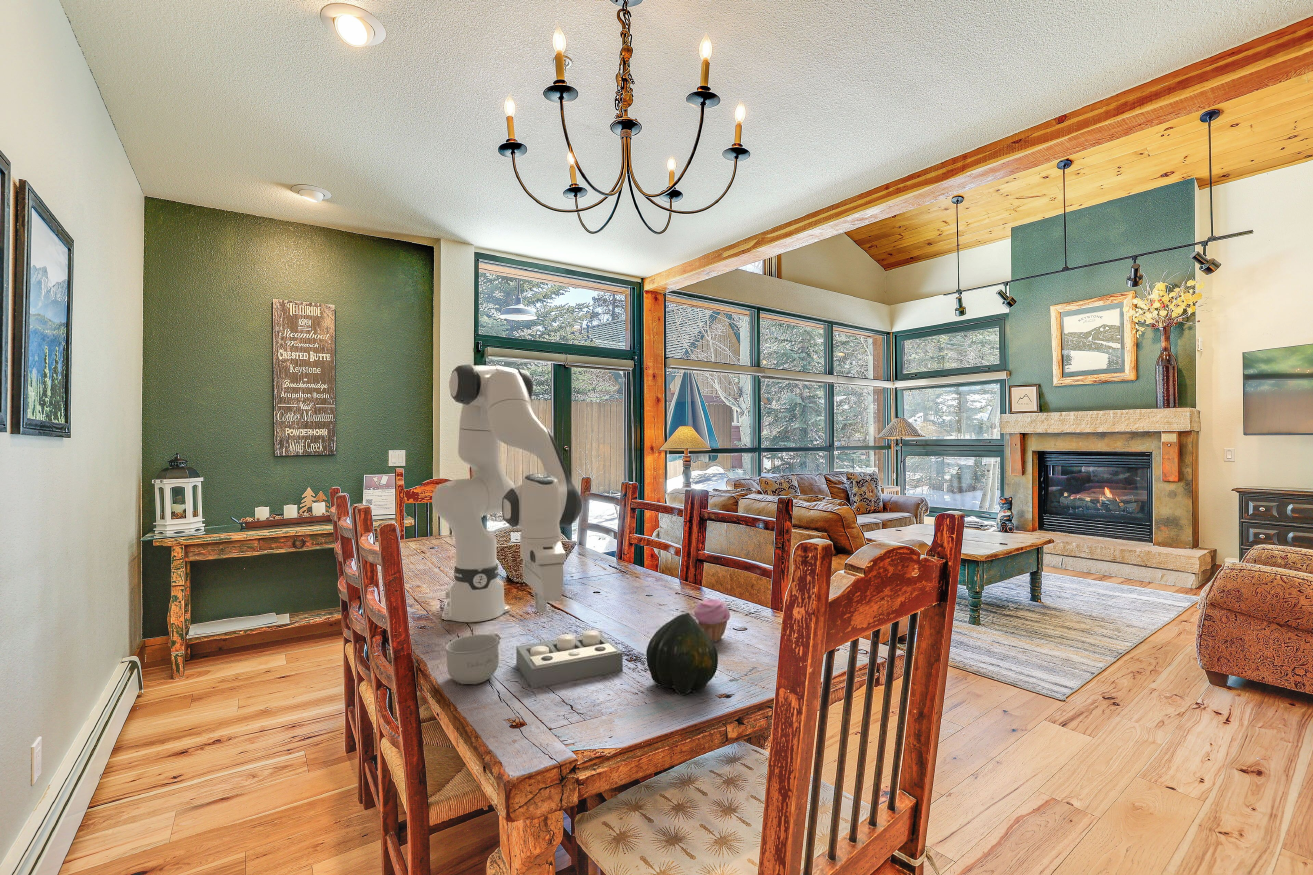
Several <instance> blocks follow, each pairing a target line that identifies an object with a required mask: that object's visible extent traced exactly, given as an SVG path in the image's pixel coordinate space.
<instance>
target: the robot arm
mask: <svg viewBox="0 0 1313 875" xmlns="http://www.w3.org/2000/svg"><path fill="white" fill-rule="evenodd" d="M448 382H449V383H448V385H449V386H448V387H449V393H450V396H451V398H452V399H453V400H454V401H455V402H456V403H458V404H461V405H462V407H461V411H460V418H459V428H458V445H457V446H458V447H457V454H458V457H459V458H460V459H461V461H463V462H464V463H465V464H467V465H469V467H470V470H471V473H472V477H471V478H459V479H458V478H457V479H453V480H449V481H445V482H443V483H440V484H438V485H437V486H436V488H435V489H434V490H433V493H432V497H431V503H432V508H433V510H434V512H435V513H436V515H437V516H438V517H439V518H441V519H442V520H443V521H445V522H446V523H447V525H448V526H449V528H450V530H451V532H452V534H453V538H454V546H455V547H454V548H455V566H454V570H453V579H454V580H453V581H454V582H453V583H452V585H451V586H450V588H449V590H445V600H446V602H445V603H444V607H443V610H442V614H441V618H442V619H444V620H443V621H453V622H454V621H455V622H459V623H460V622H461V623H475V622H484V621H488V620H493V619H495V618H498V617H500V616H502V615H503V614H504V613H508V612H510V611H511V606H510V605H508V604H506V603H505V588H504V582H502V581H501V580H500V579H499V578H498V577H499V563H497V538H496V536H495V534H494V533H493V532H491V531H490V530H488V529H486V528H485V526H484V524H483V521H482V516H490V515H496V514H497V515H498V514H500V513H502V514H501V515H502V516H501V517H502V520H503V521H504V522H505V523H506V524H507V525H508V526H510V527H512V528H516V529H521V531H520V536H519V537H520V540H519V542H520V543H519V545H520V546H519V547H520V548H519V550H520V551H519V553H520V558H521V559H522V572H521V574H522V580H523V581H524V582H525V583H526V584H527V585H528V586H529V587H530V588H531V589H532V593H533V599H534V606H535V607H534V608H535V610H536V611H537V612H538V613H540V614H541V613H543V614H544V613H546V612H547V604H548V602H555V601H559V600H561V599H562V596H563V591H564V590H563V587H564V564H563V563H565V562H566V561H567V556H566V555H567V554H566V552H565V550H564V548H563V544H562V531H561V527H570V526H571V525H572V524H574V523H575V522H576V521H577V519H578V518H579V517H580V515H581V513H582V510H583V509H582V508H583V505H582V504H583V503H582V498H581V495H580V493H579V491H578V489H577V487H576V486H575V484H574V483H573V480H572V478H571V476H570V474H569V471H568V469H567V467H566V464H565V461H564V458H563V457H562V454H561V452H560V449H559V447H558V445H557V442H556V439H555V437H554V435H553V433H552V431H551V430H550V429H549V428H548V427H546V426H545V425H543V424H542V422H540V420H539V419H538V418H537V416H536V414H535V412H534V411H533V407H532V402H531V399H532V397H533V394H534V393H533V392H534V381H533V378H532V375H531V374H530V373H529V372H528V371H527V370H524V369H521V368H517V367H516V368H512V367H507V366H503V365H485V364H484V365H481V364H478V365H471V364H461V365H457V366H456V367H455V368H454V369H453V370H452V372H451V374H450V377H449V381H448ZM500 443H503V444H505V445H507V446H509V447H513V448H516V449H519V450H523V451H525V452H527V453H530V454H532V455H533V456H536V457H537V458H538V459H539V461H540V462H541V464H542V467H543V469H544V472H545V473H530V474H527V475H525V476H524V477H523V479H522V482H521V483H520V485H517V486H516V485H515V484H514V482H513V481H512V480H511V479H510V478H509V477H508V476H507V475H506V474H505V471H504V469H503V466H502V463H501V457H500ZM448 599H449V600H448ZM447 600H448V601H447ZM442 619H441V620H442Z"/></svg>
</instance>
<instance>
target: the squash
mask: <svg viewBox="0 0 1313 875" xmlns="http://www.w3.org/2000/svg"><path fill="white" fill-rule="evenodd" d="M648 642H649V643H648V645H647V646H646V652H645V653H646V664H647V669H648V671H649V673H650V677H651V679H652V681H653V682H654V683H655V684H656V685H658V686H661V687H666V688H669V689H670V688H674V689H673V690H675V692H676V693H677V694H679V695H680V696H685V695H687V694H689V692H701V691H702V690H704V689H705V687H706V686H707V684H708V683H709V682H710V681H711V680H712V679H713V678H714V676H715V674H716V672H717V669H718V666H719V665H718V664H719V655H718V650H717V647H716V645H715V642H713V641H712V640H711V638H710V637H709V636H708V635H707V633H706V632H705V631H704V630H703V629H702V628H701V626H700V625H699V624H698V621H697V619H696V618H695V617H694V616H692V615H691V614H690V613H689V612H686V613H682V614H679V615H677V616H675V617H674V618H672V619H671V620H670V621H668V622H666V623H665V624H663V625H662V626H660V627H659V629H657V630H656V632H655V633H654V634H653V636H652V637H651V638H650V640H649V641H648Z"/></svg>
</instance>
